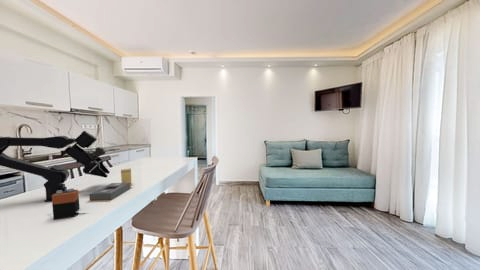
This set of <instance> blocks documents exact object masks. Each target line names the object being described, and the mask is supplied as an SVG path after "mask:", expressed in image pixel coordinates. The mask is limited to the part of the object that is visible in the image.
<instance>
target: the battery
mask: <svg viewBox="0 0 480 270" xmlns="http://www.w3.org/2000/svg"><path fill="white" fill-rule="evenodd" d="M51 204H52V216H53V220H59V219H60V220H62V219H67V218H74V217H77V215H78V214H79V212H78V211H79V210H80V209H81V208H80V197H79V190H78V189H75V188H67V191H62V190H59V191H57V192H56V193H55V194H53V195H52V201H51Z"/></svg>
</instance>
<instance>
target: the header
mask: <svg viewBox="0 0 480 270" xmlns="http://www.w3.org/2000/svg"><path fill="white" fill-rule="evenodd" d="M133 188H134V187H133V186H130V183H122V182H111V183H109V184H107V185H105V186H103V187H100V188H99V189H97V190H95V191H92V192H90V193H89V200H87V201H85V204H87V203H89V204H90V203H110V202H112V201H113V200H114V199H116V198H118V197H120V196H122V195H123V194H124V193H127V192H128V191H130V190H131V189H133Z"/></svg>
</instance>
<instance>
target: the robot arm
mask: <svg viewBox="0 0 480 270" xmlns="http://www.w3.org/2000/svg"><path fill="white" fill-rule="evenodd" d="M96 141H97V137H95V136H94V135H93V134H91V133H89V132H87V131H85V130H83V131H82V132H81V133H80V134H79V135H78V136H77V137H75V138H74V137H73V138H71V137H68V136H67V135H59V136H58V135H55V136H49V137H48V136H47V137H22V136H21V137H20V136H19V137H18V136H17V137H16V136H14V137H13V136H12V137H11V136H1V137H0V166H1V167H4V168H9V169H11V170H16V171H20V172H23V173H28V174H32V175H35V176H39V177H42V178H44V179H45V180H46V182H45V183H43V186H44V189H45V200H44V202H45V203H47V202H52V195H53V194H55V193H56V192H57V191H59V190H62V191H67V189H68V188H67V186H66V183H65V182H66V180H67V179H69V177H70V175H71V174H70V172H69V170H68V169H67V168H66V167H63V166H60V165H57V164H54V165H52V166H50V167H48V166H44V165H41V164H37V163H34V162H29V161H26V160H24V159H19V158H15V157H11V156H9V155H7V154H6V153H4V152H5V151H6V150H7V149H8V148H9V147H45V148H50V149H51V148H52V149H58V150H60V149H63V150H60V151H59V152H60V157H65V156H66V155H68V156H69V157H70V158H71V159H73V160H75V163H77V164H80V165H81V166H83V168H82V173H84V174H85V175H91V176H97V177H102V178H106V179H107V177H109V176H108V175H109V174H110V173H111V171H110V170H109V169H108V168H107V167H106V165H105V164H104V159H103V157H101V156H104V155H105V154H106V153H107V152H106V150H105V149H104V147H100V146H99V147H96V148H95V151H92V152H90V151H86V150H85V148H87V149H89V148H90V147H91V146H92V145H94V143H95V142H96ZM72 144H73V145H72ZM70 145H72V146H70ZM64 148H65V149H64Z"/></svg>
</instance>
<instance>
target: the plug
mask: <svg viewBox="0 0 480 270" xmlns="http://www.w3.org/2000/svg"><path fill="white" fill-rule="evenodd" d="M120 177H121V183H130V187H133V186H132V184H133V182H132V168H121V169H120Z"/></svg>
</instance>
